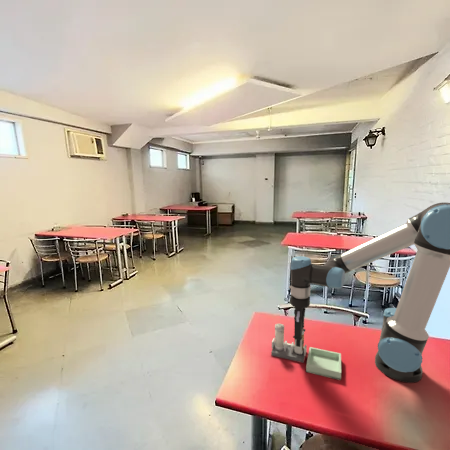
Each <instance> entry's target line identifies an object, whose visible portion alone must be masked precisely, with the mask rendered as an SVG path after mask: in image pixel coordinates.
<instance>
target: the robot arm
mask: <svg viewBox="0 0 450 450" xmlns="http://www.w3.org/2000/svg"><path fill="white" fill-rule="evenodd" d="M412 246H414V247H416V254H415V257H414V259H413V262H412V264H411V268H410V269H409V273H408V276H407V278H406V281H405V284H404V286H403V290H402V292H401V295H400V297H399V301H398V303H397V306H396V307H387V308H385V309H384V311H383V314H382V316H383V320H382V327H381V331H380V332H381V333H380V335H379V336H380V338H379V340H378V343H377V352H376V354H375V356H374V364H375V367H376V368H377V369H378V370H379V371H380V372H381V373H382V374H384V375H385V376H387V377H389V378H391V379H393V380H395V381H397V382H398V381H399V382H403V383H418V382H420V381H421V380H422V378H423V367H422V363H423V352H424V350H425V348H426V345H427V342H428V340H429V337H430V336H429V334H428V332H427V331H426V328H427V325H428V323H429V320H430V317H431V315H432V313H433V310H434V307H435V305H436V303H437V300H438V297H439V295H440V292H441V290H442V288H443V284H444V282H445V280H446V278H447V275H448V273H449V270H450V202H439V203H434V204H432V205H430V206H428V207H427V208H425V209H423V210H422V211H421V212H418V213H417V214H415V215H413V216H411V217H409V218H407V220H406V222H405V223H403V224H402V225H400V226H398V227H395V228H393V229H391V230H389V231H387V232H385V233H383V234H380V235H378V236H376V237H374V238H372V239H370V240H367V241H366V242H364V243H362V244H359V245H357V246H355V247H353V248H350V249H348V250H346V251H344V252H342V253H340V254H339V255H334V256H332V257H330V258H329V259H327V261H326V262H325V263H324V264H323V265H322V264H321V265H320V264H314V263H312V260H311V258H310V257H307V256H304V255H303V256H302V255H297V256H294V257H292V258H291V262H290V285H289V287H288V288H289V289H290V298H289V299H290V302H289V303H290V304H291V306H292V307H294V311H293V314H294V317H293V318H294V319H293V320H294V332H293V333H294V334H293V336H292V338H294V345H295V352H296V353H301V354H302V328H304V333H305V332H306V328H305V316H306V308H308V307H309V306H310V305H311V303H310V302H311V297H310V296H311V285H315V286H316V285H318V286H321V287H326V288H330V289H342V288H343V287H344V285H345V280H346V279H345V278H346V274H347V273H350V272H352V271H354V270H356V269H359V268H361V267H363V266H366V265H368V264H370V263H373V262H375V261H379V260H380V259H382V258H385V257H388V256H390V255H392V254H395V253H397V252H399V251H401V250H403V249H407V248H408V247H412Z"/></svg>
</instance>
